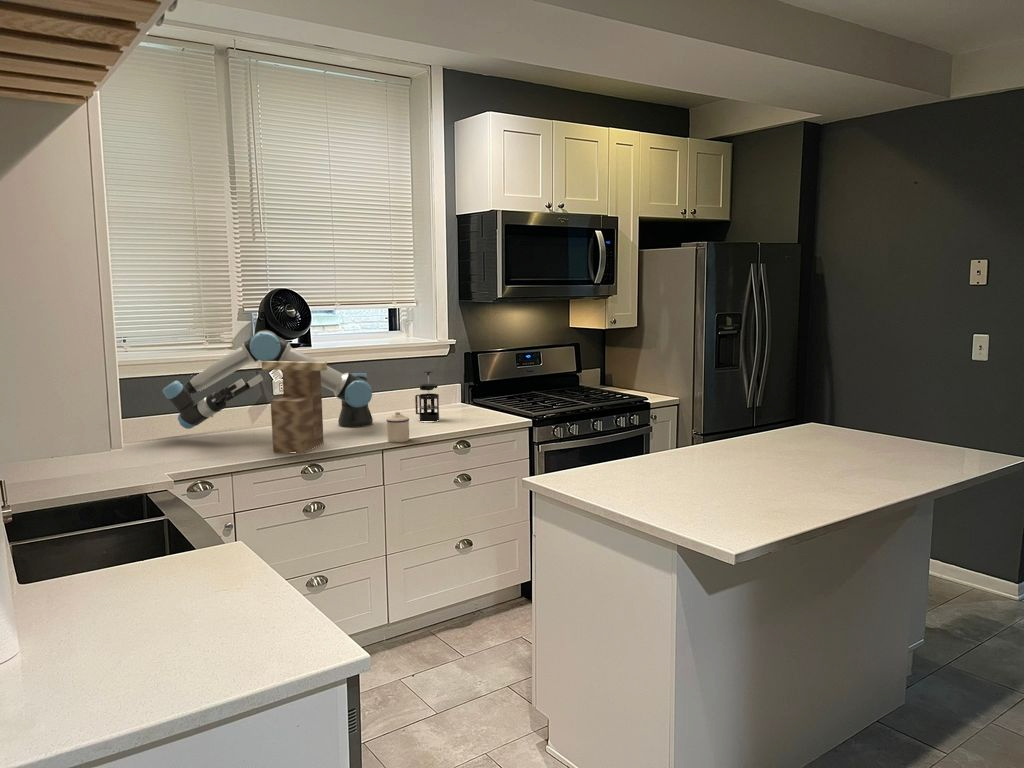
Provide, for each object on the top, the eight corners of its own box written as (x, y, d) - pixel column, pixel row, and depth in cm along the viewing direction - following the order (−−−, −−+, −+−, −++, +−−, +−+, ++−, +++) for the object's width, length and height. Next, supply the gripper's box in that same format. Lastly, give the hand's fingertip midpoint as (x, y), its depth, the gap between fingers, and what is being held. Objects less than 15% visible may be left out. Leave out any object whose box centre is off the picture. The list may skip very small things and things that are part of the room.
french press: (444, 419, 347) (443, 370, 344) (436, 423, 338) (435, 372, 335) (420, 418, 351) (419, 369, 347) (412, 422, 342) (411, 371, 338)
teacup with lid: (414, 440, 304) (413, 412, 302) (395, 443, 297) (394, 414, 296) (397, 435, 312) (396, 408, 310) (378, 439, 306) (377, 411, 304)
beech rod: (261, 369, 294) (261, 361, 293) (265, 368, 297) (265, 361, 296) (323, 370, 289) (323, 362, 288) (327, 369, 292) (326, 362, 291)
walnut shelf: (273, 452, 284) (269, 374, 280) (295, 442, 301) (292, 368, 297) (302, 453, 282) (298, 374, 277) (323, 443, 299) (320, 368, 295)
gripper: (234, 407, 314) (273, 382, 309) (198, 418, 290) (240, 392, 285) (225, 391, 314) (264, 367, 309) (188, 401, 290) (230, 375, 285)
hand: (252, 379), depth 297 cm, fingers open, 13 cm apart
